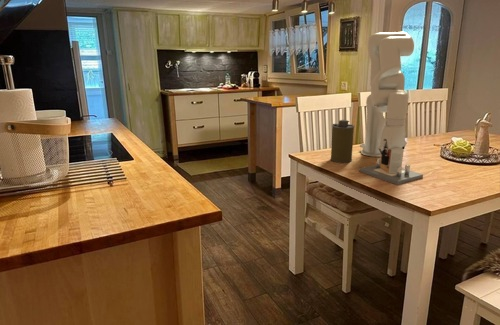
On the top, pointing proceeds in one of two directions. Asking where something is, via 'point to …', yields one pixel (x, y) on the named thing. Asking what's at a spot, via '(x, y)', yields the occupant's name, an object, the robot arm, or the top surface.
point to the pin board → (390, 175)
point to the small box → (393, 160)
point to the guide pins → (399, 169)
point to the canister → (342, 142)
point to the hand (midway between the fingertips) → (391, 162)
